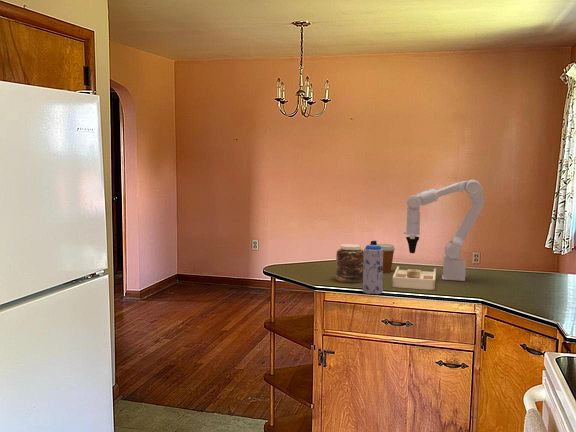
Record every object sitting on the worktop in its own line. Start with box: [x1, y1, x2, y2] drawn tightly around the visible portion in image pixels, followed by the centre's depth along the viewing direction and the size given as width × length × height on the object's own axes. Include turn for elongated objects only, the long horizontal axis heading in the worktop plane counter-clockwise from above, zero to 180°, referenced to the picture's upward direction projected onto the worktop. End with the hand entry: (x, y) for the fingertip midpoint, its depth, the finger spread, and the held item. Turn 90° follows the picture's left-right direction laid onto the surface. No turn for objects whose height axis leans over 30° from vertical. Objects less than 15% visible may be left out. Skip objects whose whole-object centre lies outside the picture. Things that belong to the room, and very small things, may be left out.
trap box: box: [391, 265, 437, 291], centre depth 225 cm, size 17×24×4 cm
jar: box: [335, 243, 364, 284], centre depth 228 cm, size 12×12×15 cm
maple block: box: [406, 268, 421, 279], centre depth 217 cm, size 5×5×4 cm
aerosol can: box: [361, 240, 384, 295], centre depth 207 cm, size 8×8×20 cm
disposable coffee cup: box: [378, 243, 396, 273], centre depth 247 cm, size 10×10×12 cm
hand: (412, 253), depth 236 cm, fingers closed
